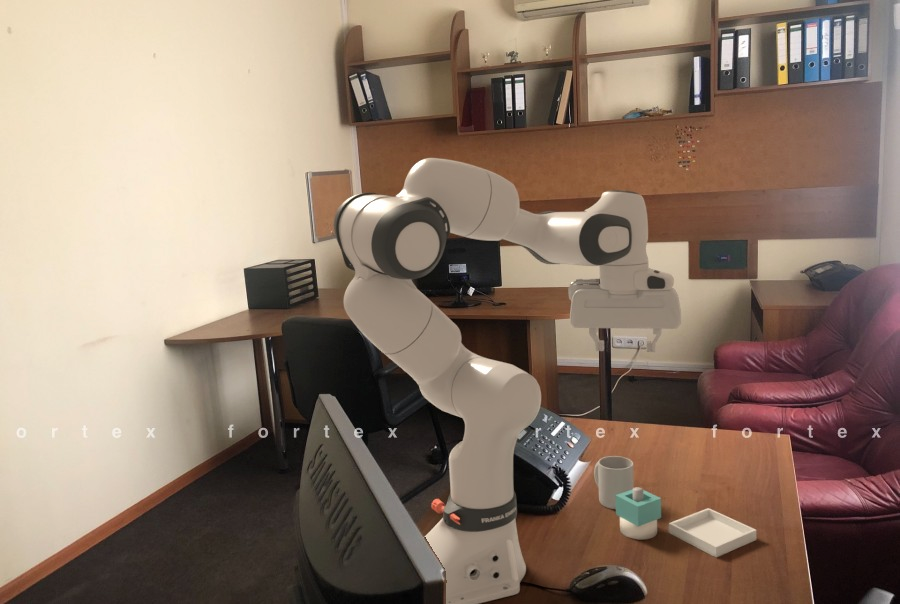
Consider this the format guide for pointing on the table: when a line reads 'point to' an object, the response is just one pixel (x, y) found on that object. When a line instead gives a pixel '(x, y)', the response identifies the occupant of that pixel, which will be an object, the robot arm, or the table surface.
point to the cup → (613, 478)
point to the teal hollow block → (638, 508)
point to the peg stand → (638, 531)
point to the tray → (712, 532)
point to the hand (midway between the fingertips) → (625, 351)
